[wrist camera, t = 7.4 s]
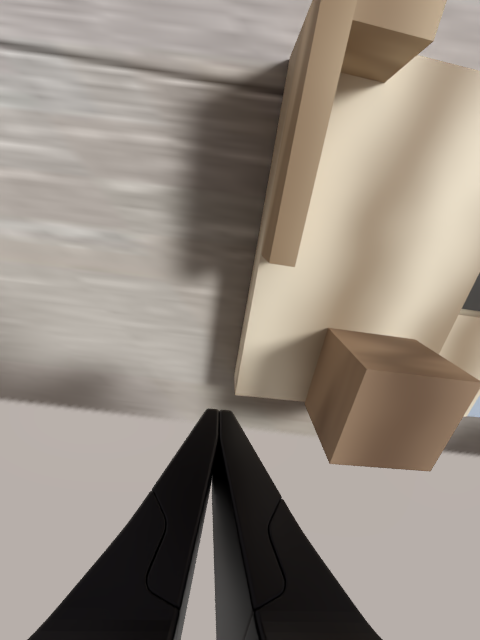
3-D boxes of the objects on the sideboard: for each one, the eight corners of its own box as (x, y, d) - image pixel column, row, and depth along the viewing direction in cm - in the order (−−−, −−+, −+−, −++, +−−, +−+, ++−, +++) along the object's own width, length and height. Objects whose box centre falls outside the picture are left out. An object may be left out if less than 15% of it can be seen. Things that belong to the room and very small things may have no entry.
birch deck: (702, 157, 13) (923, 129, 9) (529, 406, 19) (614, 460, 15) (289, 58, 11) (328, -41, 7) (234, 375, 17) (236, 428, 12)
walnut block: (415, 339, 14) (483, 382, 10) (382, 411, 16) (430, 471, 12) (328, 327, 13) (366, 369, 10) (304, 404, 15) (329, 463, 12)
